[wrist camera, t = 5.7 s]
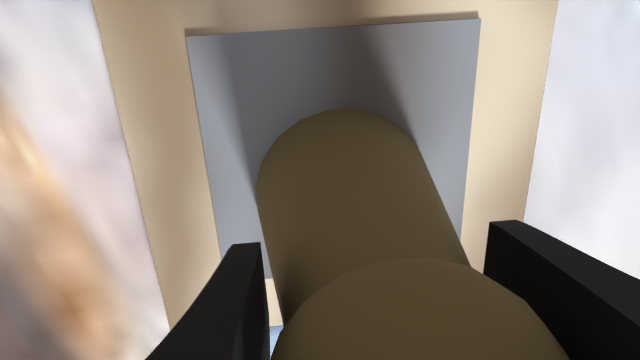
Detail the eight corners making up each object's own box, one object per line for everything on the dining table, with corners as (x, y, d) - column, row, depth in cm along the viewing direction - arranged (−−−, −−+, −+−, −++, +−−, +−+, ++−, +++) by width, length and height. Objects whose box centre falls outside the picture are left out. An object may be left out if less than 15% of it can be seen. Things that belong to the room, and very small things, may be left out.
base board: (178, 310, 20) (170, 339, 19) (97, -52, 14) (76, -53, 13) (494, 280, 21) (512, 305, 20) (544, -74, 15) (574, -78, 14)
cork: (235, 129, 15) (155, 403, 5) (417, 91, 15) (696, 287, 5) (277, 282, 18) (278, 683, 7) (435, 249, 18) (652, 600, 7)
